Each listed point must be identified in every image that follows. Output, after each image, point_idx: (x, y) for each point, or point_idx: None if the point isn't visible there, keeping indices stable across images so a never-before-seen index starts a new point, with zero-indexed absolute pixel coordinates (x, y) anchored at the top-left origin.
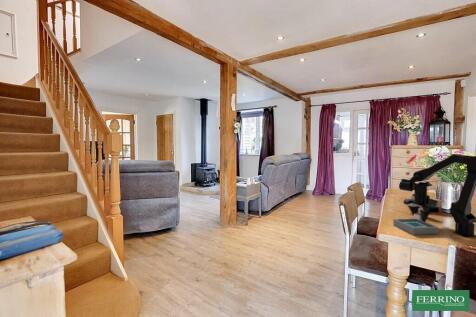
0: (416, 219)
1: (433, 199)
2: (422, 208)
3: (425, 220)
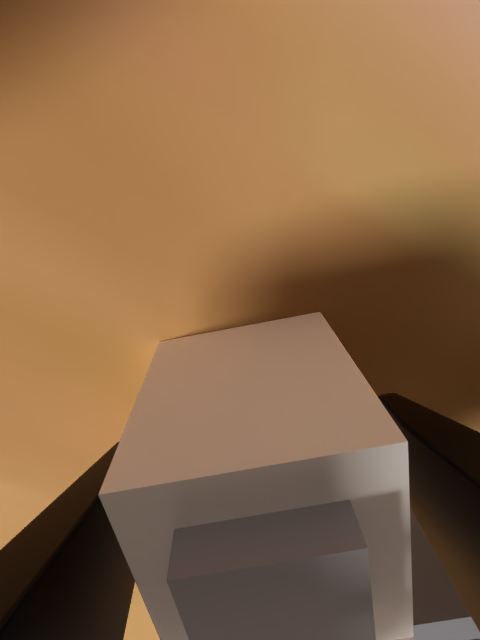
0: (454, 629)
1: None
2: None
3: (424, 412)
